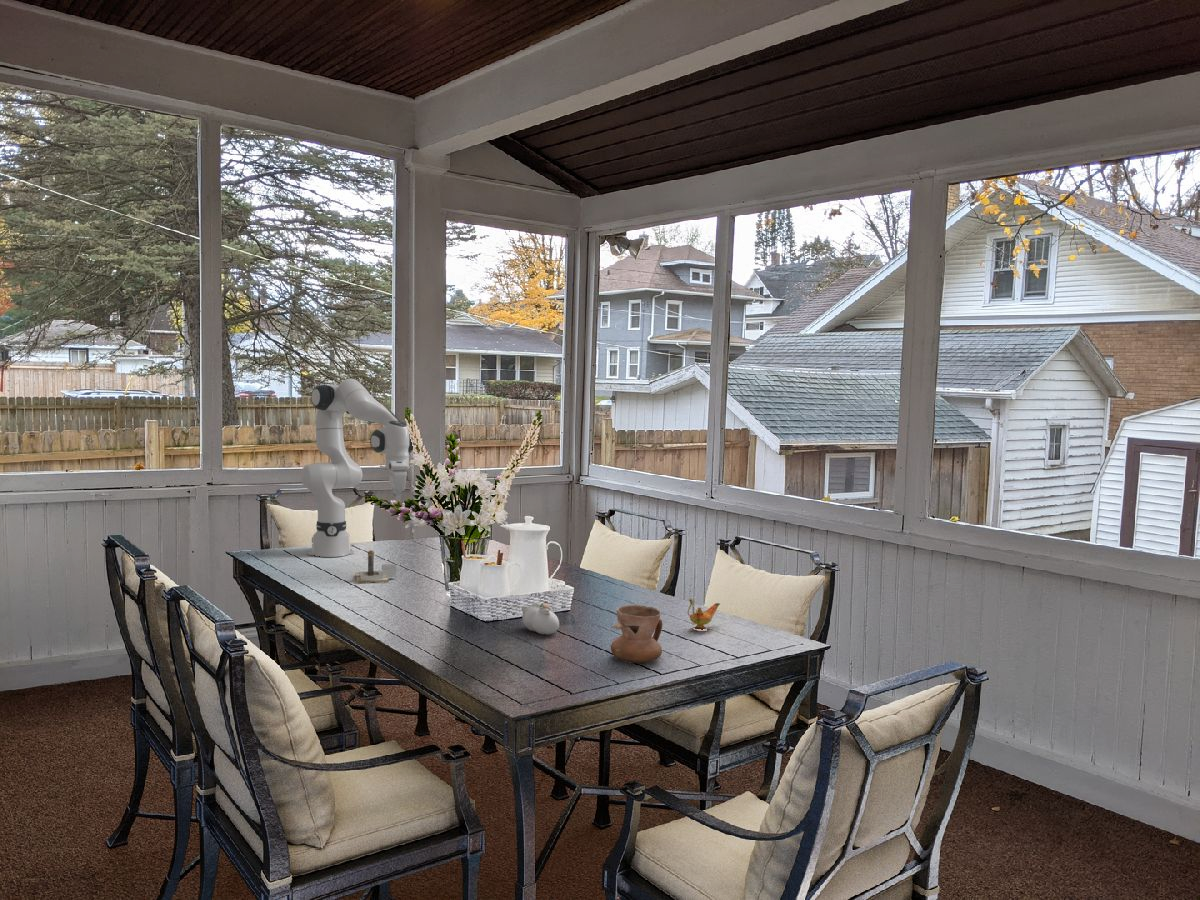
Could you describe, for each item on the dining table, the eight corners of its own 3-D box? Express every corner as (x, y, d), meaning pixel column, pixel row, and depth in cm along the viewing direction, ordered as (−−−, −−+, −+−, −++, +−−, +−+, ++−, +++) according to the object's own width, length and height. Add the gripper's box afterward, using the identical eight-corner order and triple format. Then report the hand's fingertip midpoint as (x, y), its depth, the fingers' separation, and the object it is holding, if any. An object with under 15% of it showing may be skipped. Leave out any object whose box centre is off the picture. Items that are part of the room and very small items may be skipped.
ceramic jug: (630, 671, 241) (633, 620, 240) (596, 657, 252) (599, 607, 251) (677, 661, 253) (681, 612, 251) (643, 647, 264) (646, 600, 263)
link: (359, 575, 337) (359, 563, 337) (394, 573, 342) (394, 562, 341) (360, 580, 330) (360, 568, 329) (396, 578, 334) (396, 567, 334)
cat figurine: (561, 606, 270) (527, 591, 280) (543, 623, 266) (509, 608, 275) (569, 628, 275) (535, 613, 285) (551, 646, 271) (518, 630, 280)
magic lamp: (727, 625, 290) (729, 592, 289) (695, 636, 277) (697, 601, 276) (709, 621, 295) (711, 588, 294) (677, 631, 281) (679, 597, 280)
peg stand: (355, 575, 341) (355, 546, 340) (384, 574, 344) (385, 545, 343) (357, 583, 328) (358, 553, 327) (388, 582, 332) (388, 552, 331)
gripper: (386, 460, 351) (385, 495, 352) (391, 466, 332) (391, 503, 333) (402, 461, 353) (401, 495, 354) (409, 466, 334) (408, 503, 335)
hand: (396, 499), depth 343 cm, fingers open, 8 cm apart
